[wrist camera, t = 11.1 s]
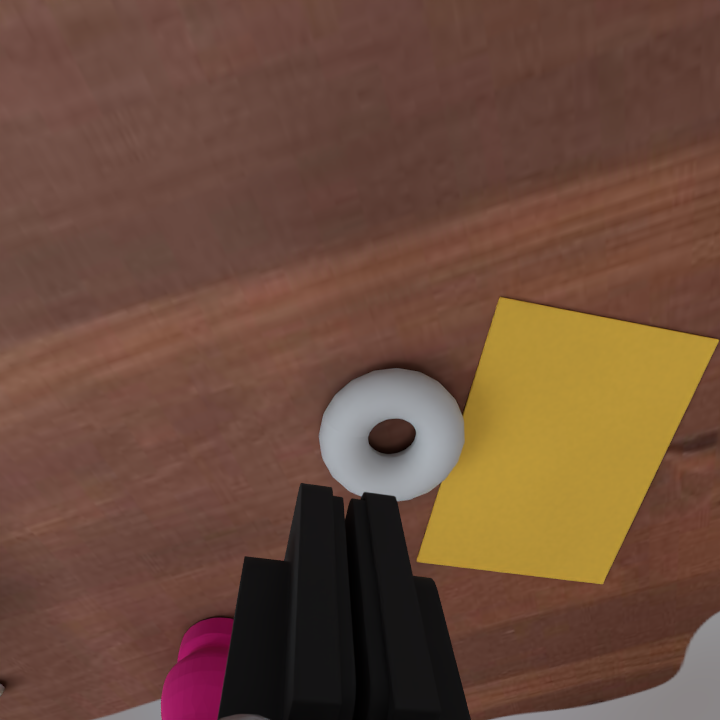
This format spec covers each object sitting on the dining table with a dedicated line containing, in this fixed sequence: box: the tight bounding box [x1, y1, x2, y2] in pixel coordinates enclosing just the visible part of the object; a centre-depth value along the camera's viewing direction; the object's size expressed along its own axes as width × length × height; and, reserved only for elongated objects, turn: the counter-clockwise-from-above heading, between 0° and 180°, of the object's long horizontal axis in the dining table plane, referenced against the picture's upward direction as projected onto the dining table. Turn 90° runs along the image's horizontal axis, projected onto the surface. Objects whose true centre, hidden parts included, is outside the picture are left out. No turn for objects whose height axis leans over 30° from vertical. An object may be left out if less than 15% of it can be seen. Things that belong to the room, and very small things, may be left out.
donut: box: [319, 368, 465, 501], centre depth 39 cm, size 10×4×10 cm
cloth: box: [417, 297, 719, 584], centre depth 42 cm, size 22×16×1 cm
